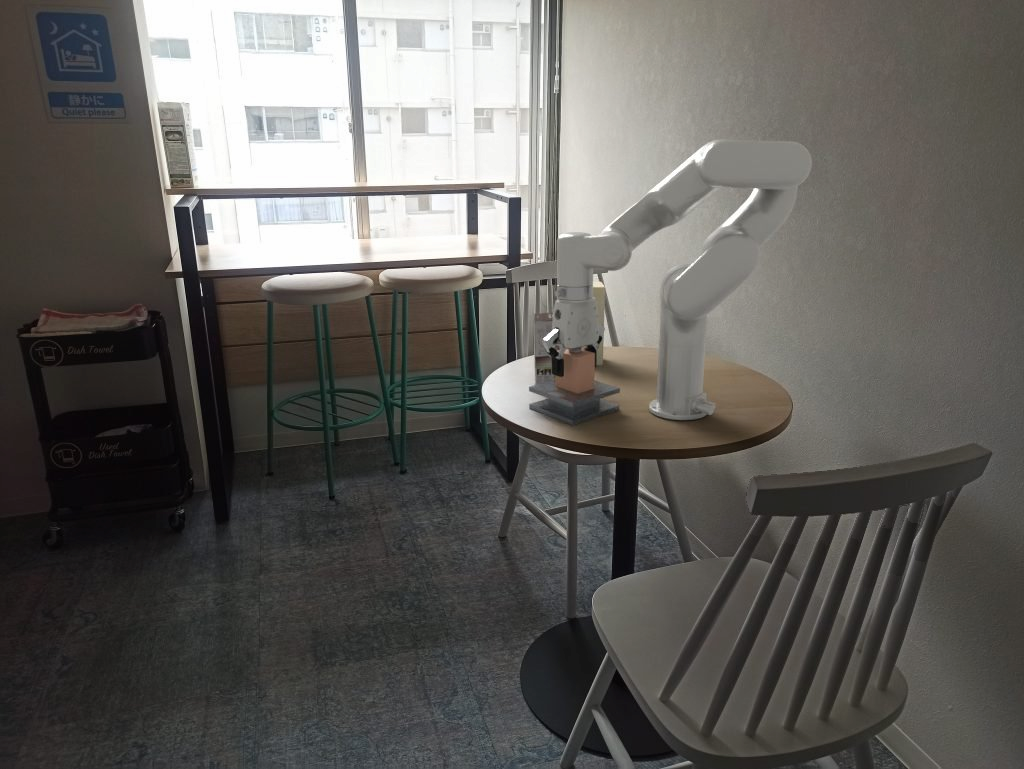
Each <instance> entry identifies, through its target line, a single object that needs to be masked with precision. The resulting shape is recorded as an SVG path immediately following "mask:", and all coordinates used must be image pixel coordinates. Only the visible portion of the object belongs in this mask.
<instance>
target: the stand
mask: <svg viewBox="0 0 1024 769" xmlns="http://www.w3.org/2000/svg"><path fill="white" fill-rule="evenodd" d="M528 389H529V390H528V392H530V393H533V394H536V395H538V396H541V397H543V398H544V397H545V399H542V400H539V401H538V400H537V401H536V402H535V401H534V402H532V403H528V405H529V406H528V408H529V409H530V408H531V409H530V410H532V409H533V410H532V411H535V412H538V413H541V414H543V415H546V416H548V417H551V418H554V419H556V420H558V421H560V422H564V423H566V424H568V425H571V426H575V425H578V423H579V424H581V423H584V422H587V421H590V420H593V419H597V418H599V417H602V416H606V415H609V414H611V413H615V412H617V411H620V405H619V404H616V403H613V402H610V401H608V400H604V399H605V398H606V397H611V396H614V395H616V394H620V392H621V388H620V387H617V386H614V385H612V384H609V383H605V382H603V381H599V380H595V379H594V389H591V390H588V391H585V392H581V393H578V394H577V393H574V392H571V391H569V390H566V389H563V388H560V387H557V386H555V380H552V381H548V382H545V383H541V384H538V385H536V384H534V385H531V386H529V387H528Z"/></svg>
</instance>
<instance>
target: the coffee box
mask: <svg viewBox="0 0 1024 769" xmlns="http://www.w3.org/2000/svg"><path fill="white" fill-rule="evenodd" d="M552 321H553V312H543V313H534V315H533V332H534V333H533V335H534V336H533V338H534V339H533V340H534V342H533V346H534V347H533V348H534V354H533V355H534V358H533V359H534V382H535V383H534V385H538V384H541V383H545V382H548V381H552V380H555V375H553V374H552V357H550V356H549V354H548V353H547V352H546V351H545V347H544V345H543V343H542V341H543V339H544V338H545V337H546V336H548V335H549V334H550V333H551V332H552ZM552 346H553V342H552ZM559 349H560V348H558V350H559ZM558 350H557V351H558Z"/></svg>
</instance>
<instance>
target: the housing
mask: <svg viewBox="0 0 1024 769" xmlns="http://www.w3.org/2000/svg"><path fill="white" fill-rule="evenodd" d="M558 351H559V350H558ZM558 351H557V352H558ZM562 358H563V359H564V376H563V377H559V376H556V375H555V386H557V387H560V388H563V389H566V390H569V391H571V392H574V393H577V394H578V393H581V392H585V391H588V390H591V389H594V380H595V376H596V375H595V374H596V373H595V372H596V371H595V369H596V368H595V353H593V352H589V351H585V350H582V347H580V348H576V349H570V350H569V349H566V350H565V352H564V354H563V356H562Z"/></svg>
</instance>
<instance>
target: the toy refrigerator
mask: <svg viewBox="0 0 1024 769" xmlns="http://www.w3.org/2000/svg"><path fill="white" fill-rule="evenodd" d="M593 297H594V298H595V299H596V304H597V310H598V320H599V325H601V326H603V327H605V307H606V306H605V305H606V304H605V302H606V286H605V285H604V284H603V282H602V281H593ZM604 336H605V333H604V334H603V336H602V341H601V342H600V344H599V349H598V350H597V362H596V366H603V365H604V343H605V342H604V340H605V338H604ZM585 348H587V346H584V347H582V350H585Z"/></svg>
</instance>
